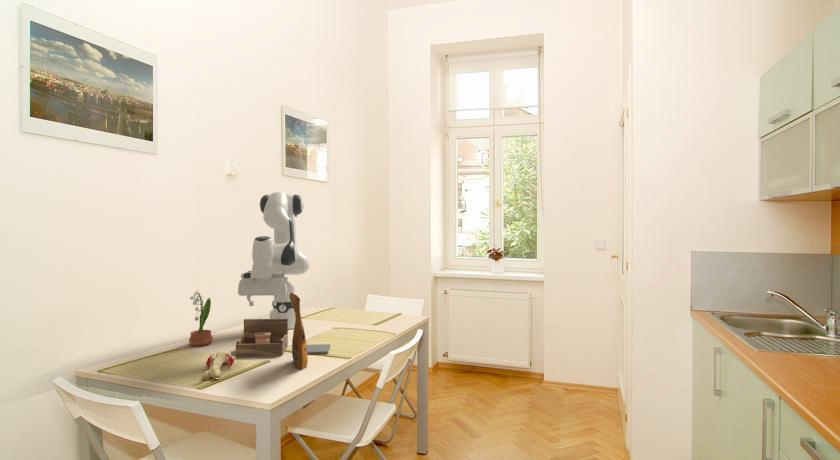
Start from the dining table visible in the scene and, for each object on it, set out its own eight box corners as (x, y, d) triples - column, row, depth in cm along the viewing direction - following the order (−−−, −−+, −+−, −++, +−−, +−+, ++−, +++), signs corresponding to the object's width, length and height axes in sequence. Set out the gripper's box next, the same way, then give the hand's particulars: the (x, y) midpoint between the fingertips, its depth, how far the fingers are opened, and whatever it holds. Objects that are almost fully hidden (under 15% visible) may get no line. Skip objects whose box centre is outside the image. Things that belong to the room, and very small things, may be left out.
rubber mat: (305, 346, 212) (305, 344, 212) (330, 346, 213) (330, 344, 213) (301, 354, 200) (301, 352, 200) (328, 353, 201) (328, 351, 201)
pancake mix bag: (290, 371, 177) (291, 297, 177) (289, 357, 195) (289, 290, 195) (308, 370, 179) (309, 296, 179) (305, 356, 197) (306, 289, 197)
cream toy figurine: (226, 383, 168) (238, 357, 192) (225, 359, 167) (238, 337, 191) (196, 385, 166) (212, 359, 190) (195, 361, 165) (212, 338, 189)
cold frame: (244, 347, 210) (244, 319, 210) (287, 346, 212) (288, 318, 212) (235, 356, 196) (235, 326, 196) (282, 355, 198) (282, 325, 198)
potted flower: (201, 348, 208) (201, 292, 207) (181, 347, 209) (181, 291, 209) (217, 342, 219) (217, 288, 219) (198, 340, 221) (198, 288, 221)
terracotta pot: (256, 349, 207) (256, 331, 207) (272, 349, 208) (272, 331, 208) (252, 353, 200) (252, 335, 200) (269, 353, 201) (269, 334, 201)
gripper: (288, 273, 208) (288, 304, 208) (240, 273, 205) (240, 304, 206) (286, 274, 201) (286, 306, 202) (236, 274, 199) (236, 307, 199)
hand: (262, 305), depth 204 cm, fingers open, 8 cm apart
